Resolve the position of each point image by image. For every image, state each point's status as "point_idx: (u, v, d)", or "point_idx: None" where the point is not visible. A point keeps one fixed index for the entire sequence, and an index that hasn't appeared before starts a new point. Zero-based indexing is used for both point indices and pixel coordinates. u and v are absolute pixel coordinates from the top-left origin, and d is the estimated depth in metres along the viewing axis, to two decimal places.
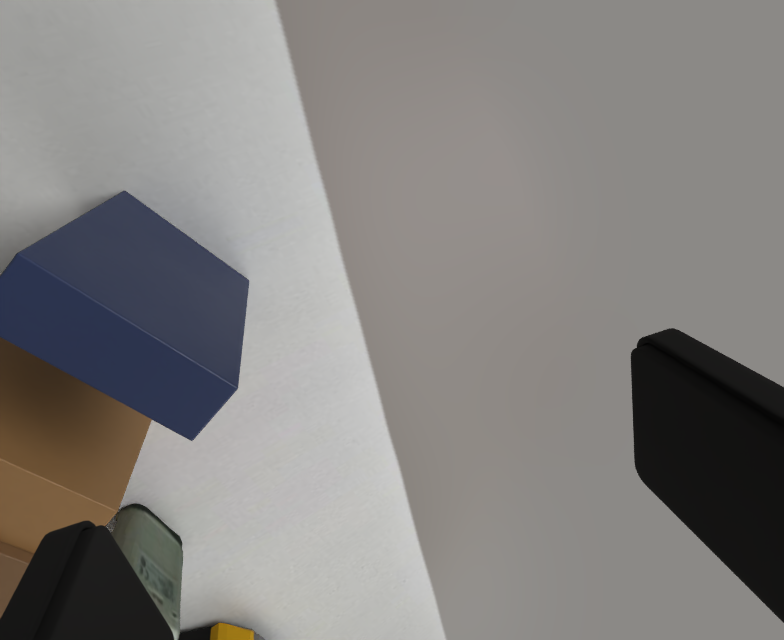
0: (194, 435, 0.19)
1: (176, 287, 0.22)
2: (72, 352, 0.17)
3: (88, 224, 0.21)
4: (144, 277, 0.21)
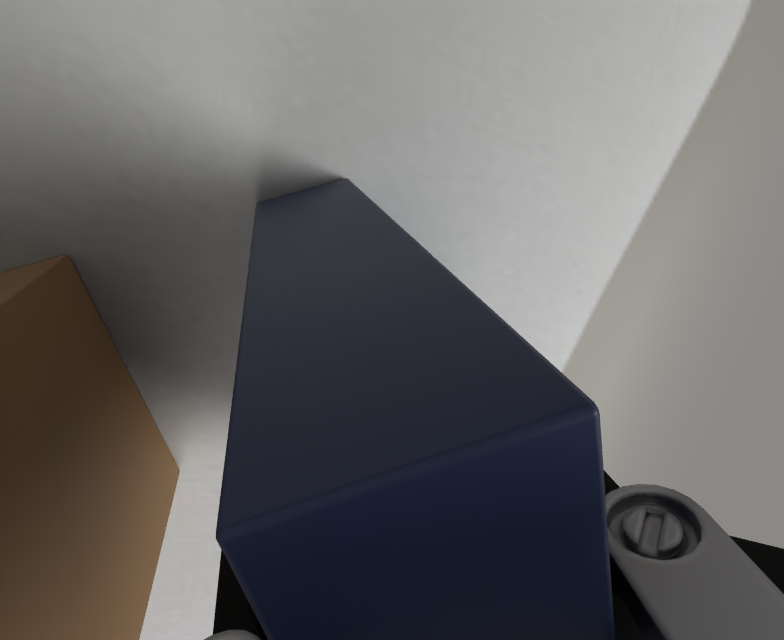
0: None
1: None
2: None
3: None
4: None
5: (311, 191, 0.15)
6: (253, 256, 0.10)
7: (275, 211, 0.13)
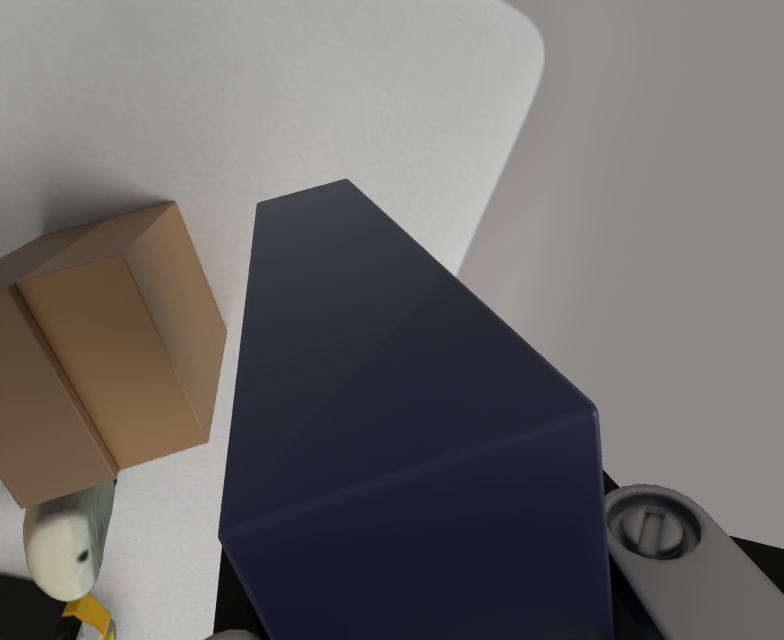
0: None
1: None
2: None
3: None
4: None
5: (311, 191, 0.15)
6: (254, 256, 0.10)
7: (275, 211, 0.13)
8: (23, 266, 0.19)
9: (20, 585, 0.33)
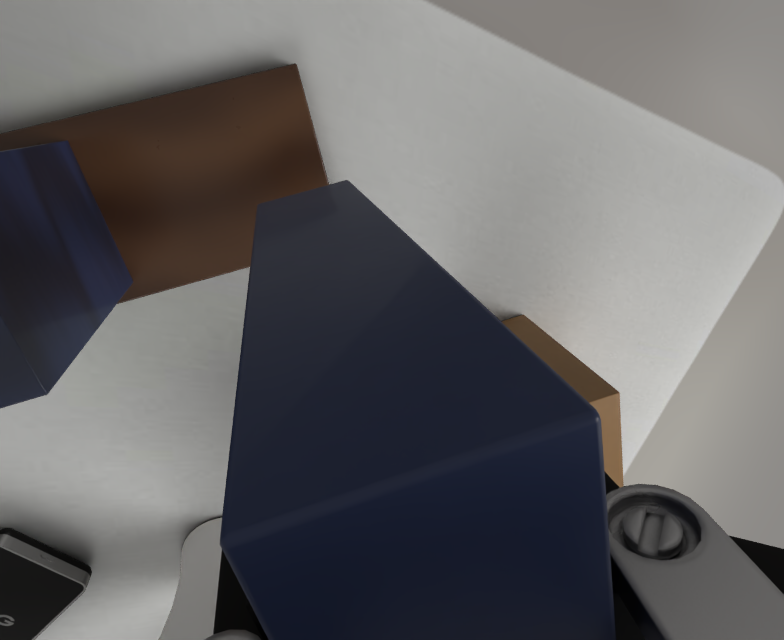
0: None
1: None
2: None
3: None
4: None
5: (312, 193, 0.15)
6: (254, 259, 0.10)
7: (276, 213, 0.13)
8: None
9: None
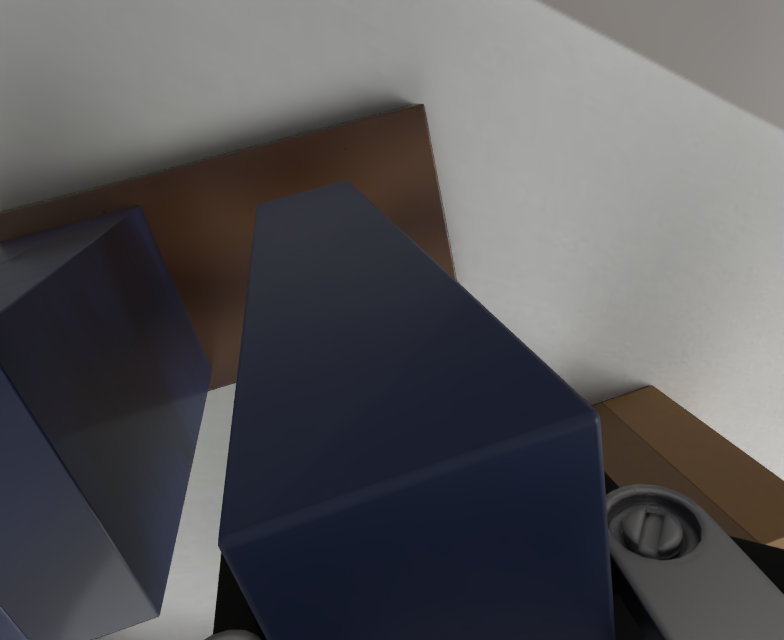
0: None
1: None
2: None
3: None
4: None
5: (311, 193, 0.15)
6: (254, 259, 0.10)
7: (275, 213, 0.13)
8: None
9: None
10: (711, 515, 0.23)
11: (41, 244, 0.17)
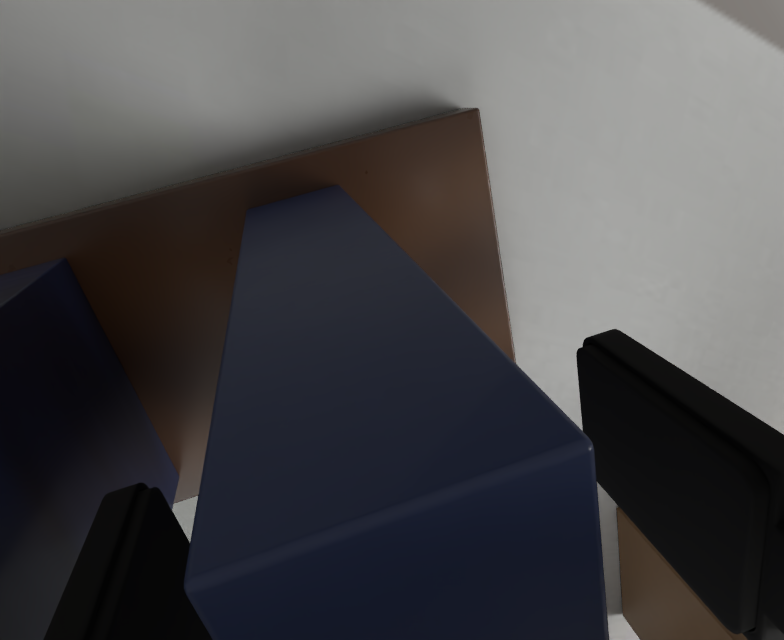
0: None
1: None
2: None
3: None
4: None
5: (302, 198, 0.14)
6: (240, 267, 0.09)
7: (265, 219, 0.13)
8: None
9: None
10: None
11: None
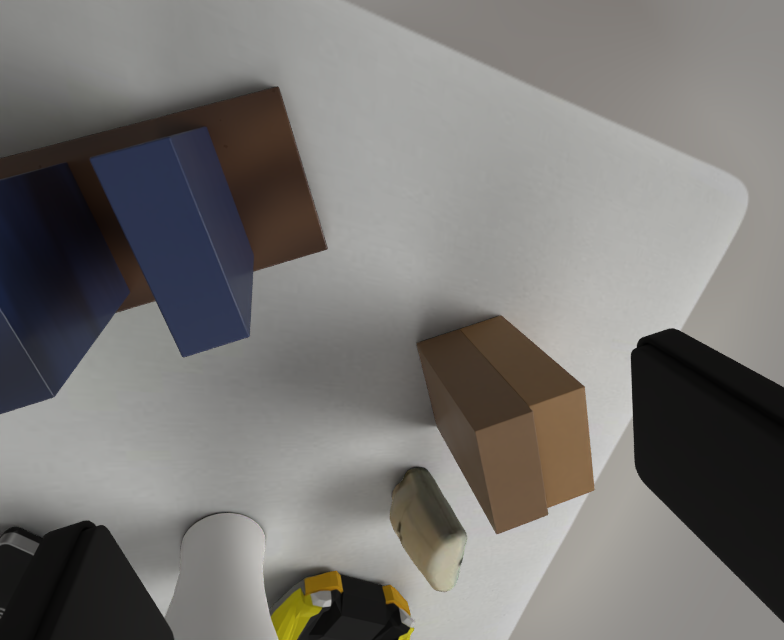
0: (188, 354, 0.21)
1: (226, 229, 0.24)
2: (148, 233, 0.19)
3: (193, 141, 0.23)
4: (215, 208, 0.23)
5: None
6: None
7: None
8: (495, 387, 0.32)
9: (354, 582, 0.46)
10: (503, 392, 0.31)
11: None
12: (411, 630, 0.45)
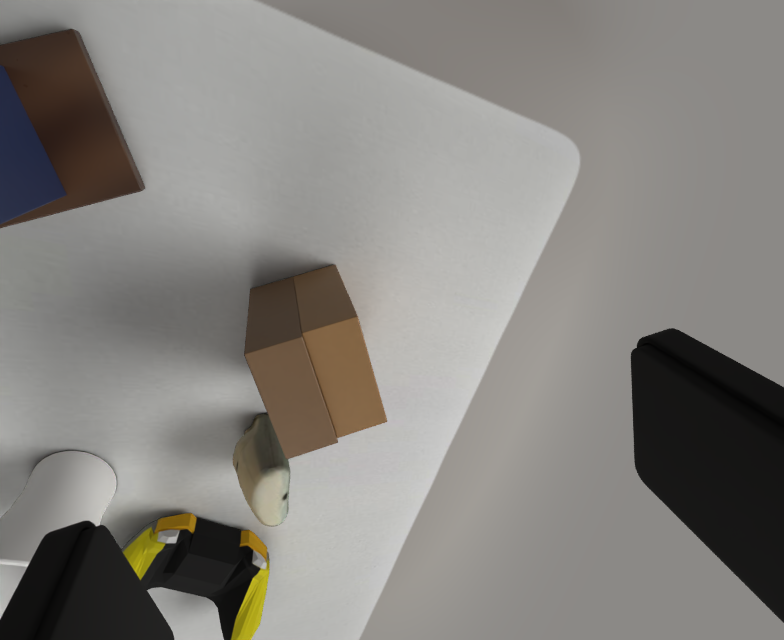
0: None
1: None
2: None
3: None
4: None
5: None
6: None
7: None
8: (286, 319, 0.33)
9: (210, 525, 0.47)
10: (290, 323, 0.33)
11: None
12: (262, 571, 0.47)
